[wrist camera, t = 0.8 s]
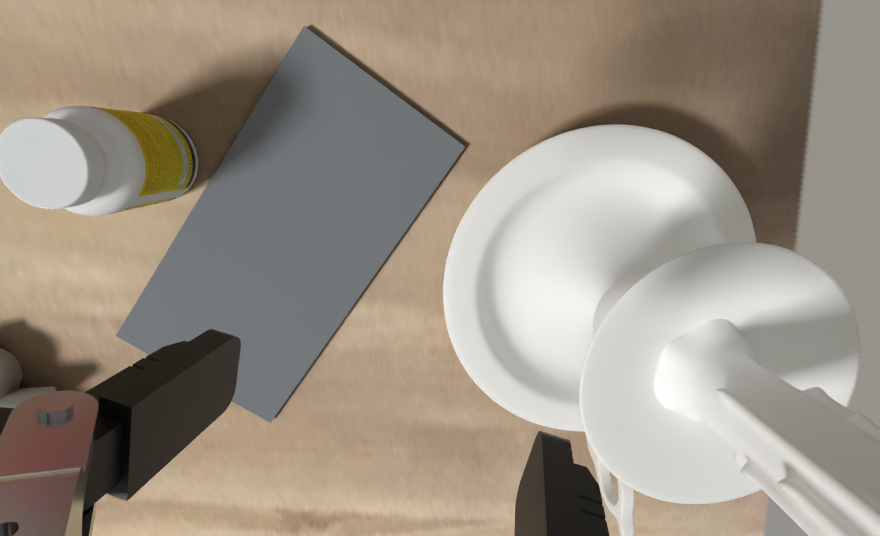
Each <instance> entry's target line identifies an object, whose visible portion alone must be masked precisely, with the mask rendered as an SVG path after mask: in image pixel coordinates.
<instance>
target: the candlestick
mask: <svg viewBox="0 0 880 536" xmlns="http://www.w3.org/2000/svg"><path fill="white" fill-rule="evenodd" d="M443 303H444V313H445V320H446V324H447V329H448V332H449V336H450V339H451V342H452V344H453V347H454V349H455V352H456V354H457V356H458V358H459V360H460V361H461V363H462V365H463V367H464V368H465V370H466V371H467V373H468V374H469V375H470V377H471V378H472V379H473V381H474V382H475V383H476V384H477V385H478V386H479V387H480V389H481V390H482V391H483V392H485V393H486V394H487V395H488V396H489V397H490V398H491V399H492V400H494V401H495V402H496V403H498V404H499V405H500V406H502V407H503V408H505V409H506V410H508V411H510V412H511V413H513V414H515V415H517V416H519V417H521V418H523V419H525V420H528V421H530V422H533V423H536V424H539V425H542V426H546V427H550V428H555V429H561V430H569V431H585V433H586V437H587V445H588V449H589V452H590V454H591V457H592V459H593V461H594V464H595V468H596V473H597V478H598V482H599V486H600V490H601V493H602V496H603V499H604V501H605V503H606V505H607V507H608V509H609V510H610V511H611V513H612V514H613V515H614V516H615V517H616V518H617V521H618V525H619V531H620V536H634V523H633V507H634V489H635V490H637V491H638V492H641V493H643V494H645V495H648V496H650V497H653V498H656V499H660V500H664V501H669V502H674V503H683V504H708V503H717V502H723V501H728V500H732V499H736V498H740V497H743V496H746V495H749V494H752V493H754V492H757V491H759V490H763V491H764V492H765V493H766V494H767V495H768V496H769V497H770V498H772V500H773V501H775V503H777V504H778V505H779V506H780V507H781V508H782V509H783V510H784V511H785V512H786V513H787V514H788V515H789V516H790V517H791V518H792V519H793V520H794V521H795V522H796V523H797V524H798V525H799V526H800V527H801V528H802V529H803V530H804V531H805V532H806V533H807V534H808V535H809V536H880V427H879V426H877V425H876V424H875V423H874V422H872V421H871V420H870V419H869V418H868V417H867V416H865V415H864V414H862V413H860V412H857V413H854V412H852V411H851V410H849V409H847V406H848V404H849V402H850V399H851V397H852V394H853V391H854V388H855V385H856V381H857V376H858V372H859V364H860V336H859V329H858V324H857V321H856V317H855V314H854V311H853V309H852V306H851V304H850V302H849V300H848V298H847V296H846V295H845V293H844V292H843V290H842V289H841V287H840V286H839V285H838V283H837V282H836V281H835V280H834V279H833V278H832V277H831V276H830V275H829V274H828V273H827V272H826V271H825V270H824V269H823V268H822V267H820V266H819V265H818V264H816V263H815V262H813V261H812V260H810V259H808V258H807V257H805V256H803V255H801V254H799V253H797V252H794V251H792V250H789V249H786V248H783V247H779V246H776V245H771V244H765V243H756V236H755V231H754V227H753V223H752V220H751V217H750V214H749V211H748V209H747V206H746V204H745V202H744V200H743V198H742V196H741V194H740V193H739V191H738V189H737V188H736V186H735V185H734V183H733V182H732V180H731V179H730V178H729V176H728V175H727V174H726V173H725V172H724V170H723V169H722V168H721V167H720V166H719V165H718V164H717V163H716V162H715V161H714V160H712V159H711V158H710V157H709V156H708V155H706V154H705V153H704V152H702V151H701V150H700V149H698V148H697V147H695V146H693V145H692V144H690V143H688V142H686V141H685V140H683V139H681V138H678V137H676V136H674V135H671V134H669V133H666V132H663V131H659V130H656V129H652V128H647V127H642V126H635V125H620V124H613V125H598V126H591V127H585V128H580V129H576V130H572V131H568V132H565V133H562V134H559V135H557V136H554V137H551V138H549V139H547V140H545V141H543V142H540V143H539V144H537V145H535V146H533V147H531V148H529V149H528V150H526V151H524V152H523V153H521V154H520V155H519V156H517V157H516V158H514V159H513V160H512V161H510V162H509V163H508V164H507V165H505V166H504V167H503V168H502V169H501V170H500V171H499V172H497V173H496V174H495V175H494V176H493V177H492V178H491V179H490V180H489V181H488V183H487V184H486V185H485V186H484V187H483V188H482V189H481V191H480V192H479V193H478V195H477V196H476V197H475V199H474V200H473V201H472V203H471V204H470V206H469V208H468V209H467V211H466V212H465V214H464V216H463V218H462V220H461V222H460V224H459V226H458V228H457V230H456V233H455V235H454V237H453V240H452V243H451V246H450V249H449V253H448V257H447V261H446V266H445V273H444V282H443ZM610 472H611V473H612V474H613V475H614V476H615V477H617V480H618V488H619V496H618V497H617V495H616V493H615V490H614V488H613V484H612V480H611V476H610Z"/></svg>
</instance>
